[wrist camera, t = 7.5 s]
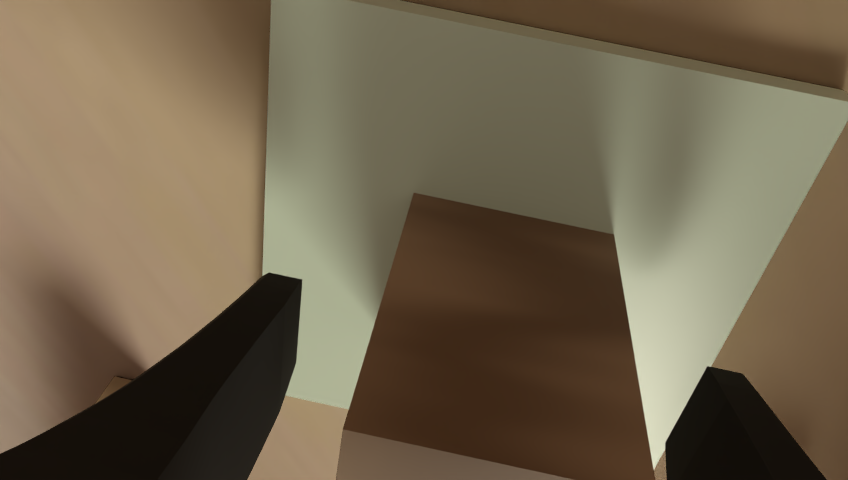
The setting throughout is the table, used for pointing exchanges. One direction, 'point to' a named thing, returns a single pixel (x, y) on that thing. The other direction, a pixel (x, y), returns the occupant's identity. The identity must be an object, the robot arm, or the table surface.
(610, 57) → the pad
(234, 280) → the table surface
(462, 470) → the walnut block
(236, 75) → the table surface
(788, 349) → the table surface
